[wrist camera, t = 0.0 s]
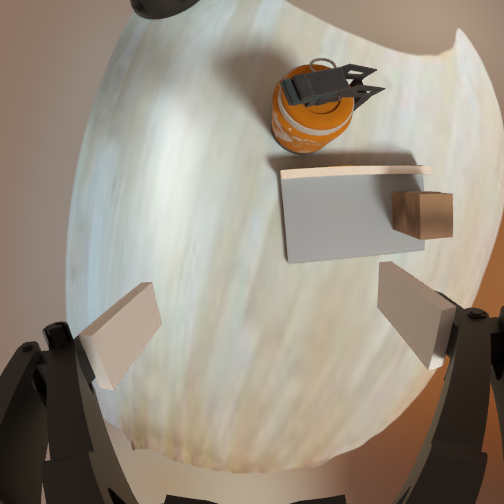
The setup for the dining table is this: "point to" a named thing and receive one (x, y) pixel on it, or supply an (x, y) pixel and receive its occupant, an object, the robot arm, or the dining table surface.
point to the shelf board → (346, 211)
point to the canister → (317, 104)
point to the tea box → (423, 214)
